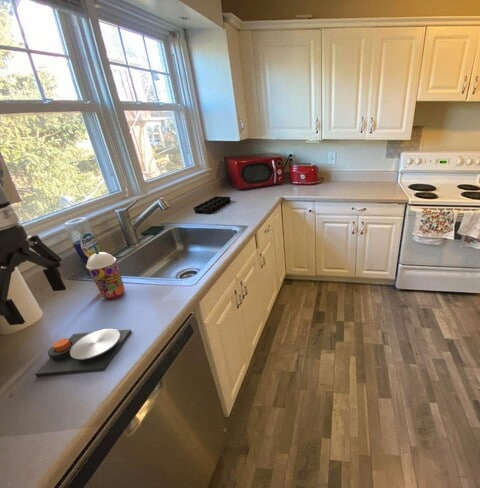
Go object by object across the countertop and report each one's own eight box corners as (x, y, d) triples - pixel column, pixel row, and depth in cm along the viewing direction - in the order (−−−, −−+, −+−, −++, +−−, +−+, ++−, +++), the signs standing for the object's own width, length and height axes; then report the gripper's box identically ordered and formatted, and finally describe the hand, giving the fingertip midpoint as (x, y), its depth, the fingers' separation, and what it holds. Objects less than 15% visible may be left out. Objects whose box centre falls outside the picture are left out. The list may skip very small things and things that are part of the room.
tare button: (52, 352, 74) (49, 347, 74) (61, 343, 77) (58, 339, 77) (65, 351, 75) (62, 346, 74) (73, 342, 78) (71, 337, 77)
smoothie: (115, 303, 98) (94, 252, 89) (94, 301, 99) (71, 250, 90) (133, 289, 105) (115, 241, 96) (114, 287, 106) (94, 240, 98)
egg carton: (192, 214, 180) (190, 209, 178) (208, 201, 207) (207, 196, 205) (219, 214, 180) (218, 208, 178) (232, 200, 207) (231, 195, 205)
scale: (34, 377, 71) (28, 369, 69) (73, 337, 83) (68, 329, 82) (104, 370, 72) (100, 362, 71) (131, 332, 85) (128, 324, 83)
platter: (59, 361, 71) (59, 360, 71) (87, 331, 81) (87, 330, 81) (105, 357, 72) (105, 356, 72) (127, 328, 82) (127, 326, 82)
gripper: (-45, 251, 50) (14, 340, 60) (57, 208, 73) (88, 277, 82) (-93, 254, 50) (-26, 343, 59) (25, 209, 72) (60, 279, 81)
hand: (40, 305), depth 70 cm, fingers open, 13 cm apart
